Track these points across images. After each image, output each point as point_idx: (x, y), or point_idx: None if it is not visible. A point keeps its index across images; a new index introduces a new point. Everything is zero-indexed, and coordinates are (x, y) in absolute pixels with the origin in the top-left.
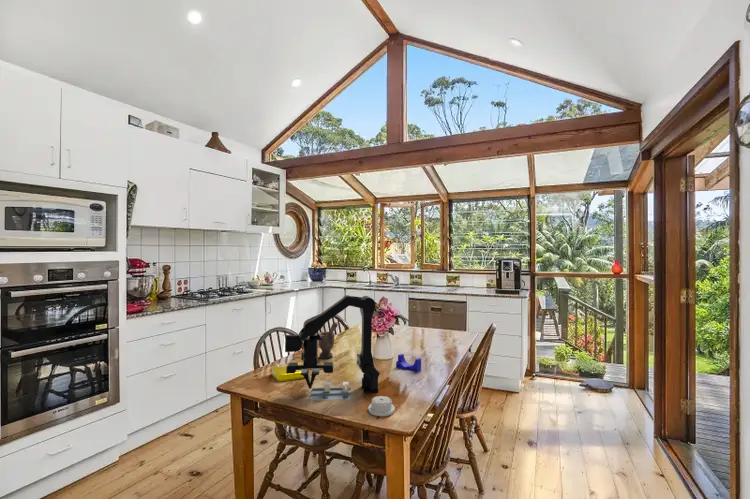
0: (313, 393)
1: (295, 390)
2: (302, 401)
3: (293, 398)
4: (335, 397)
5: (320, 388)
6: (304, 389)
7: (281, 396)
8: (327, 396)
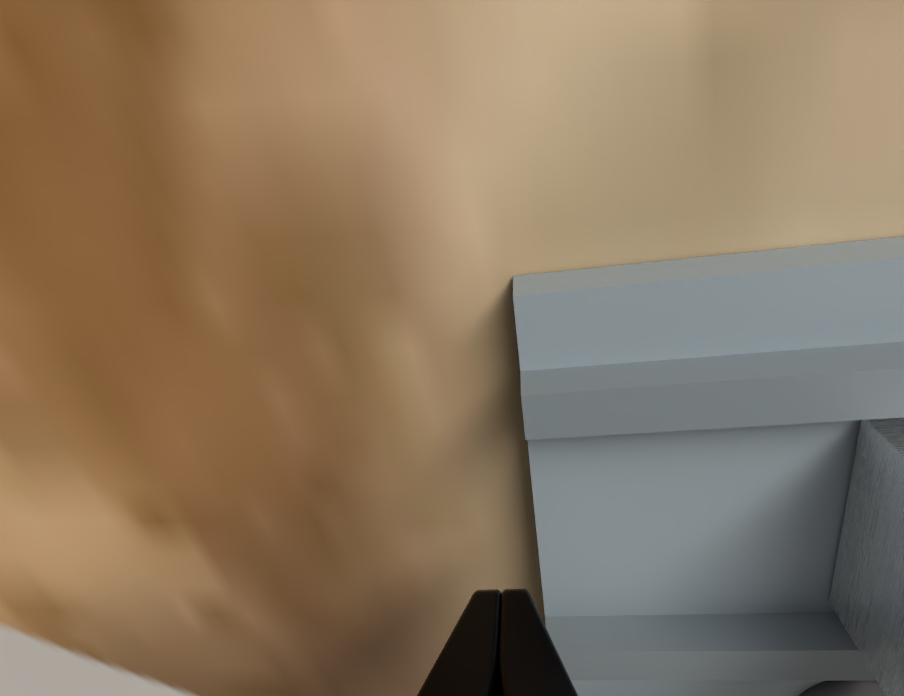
0: (602, 666)
1: (107, 266)
2: None
3: (250, 595)
4: None
5: (759, 421)
6: (285, 192)
7: (20, 530)
8: None
